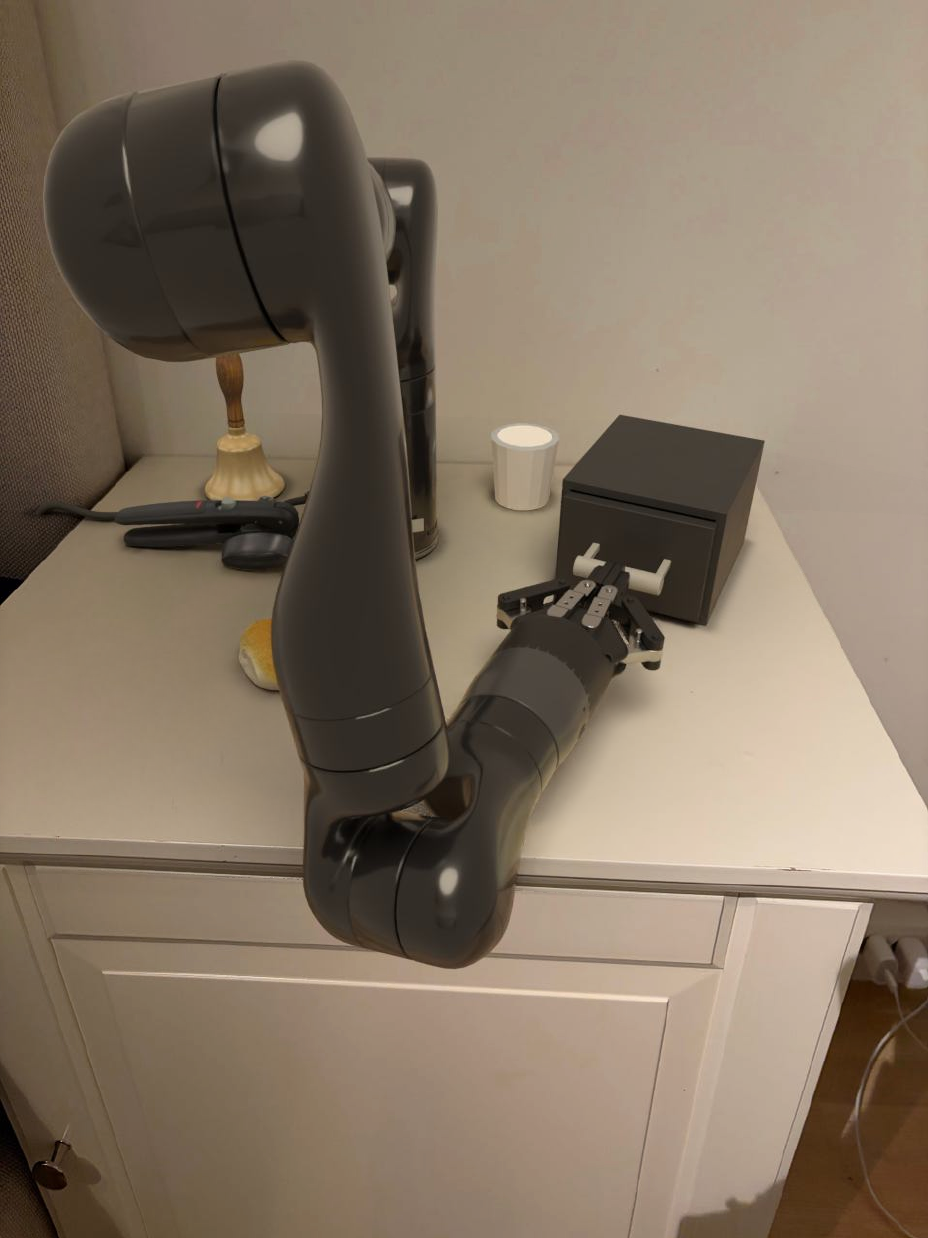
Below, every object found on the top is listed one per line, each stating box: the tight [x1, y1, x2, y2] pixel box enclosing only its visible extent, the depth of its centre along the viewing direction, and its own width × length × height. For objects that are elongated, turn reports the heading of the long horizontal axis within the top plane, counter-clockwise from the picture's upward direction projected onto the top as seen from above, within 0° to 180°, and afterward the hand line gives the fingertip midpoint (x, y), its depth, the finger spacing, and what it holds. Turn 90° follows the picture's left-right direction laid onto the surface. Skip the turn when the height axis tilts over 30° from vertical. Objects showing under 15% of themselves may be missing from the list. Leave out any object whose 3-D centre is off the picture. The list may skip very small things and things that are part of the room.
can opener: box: [114, 495, 300, 571], centre depth 86 cm, size 18×7×6 cm, turn 80°
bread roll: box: [238, 618, 279, 691], centre depth 72 cm, size 8×9×4 cm
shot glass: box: [490, 422, 560, 512], centre depth 95 cm, size 7×7×7 cm
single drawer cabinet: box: [554, 414, 766, 626], centre depth 83 cm, size 16×14×11 cm
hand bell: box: [204, 353, 286, 501], centre depth 93 cm, size 8×8×16 cm
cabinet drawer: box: [557, 491, 718, 622], centre depth 80 cm, size 19×12×9 cm, turn 155°
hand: (615, 572), depth 72 cm, fingers closed
